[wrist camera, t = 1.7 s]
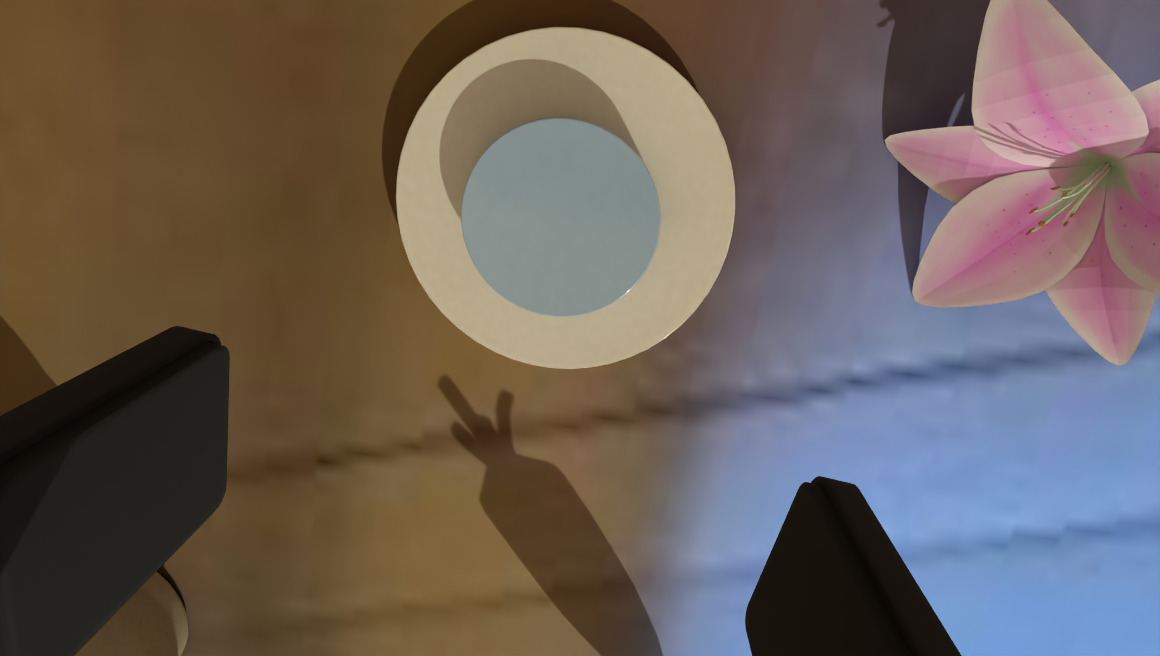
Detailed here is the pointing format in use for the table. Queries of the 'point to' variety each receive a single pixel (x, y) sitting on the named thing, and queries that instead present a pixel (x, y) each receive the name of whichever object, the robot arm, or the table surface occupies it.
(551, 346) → the dessert plate
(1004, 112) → the lily
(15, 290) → the table surface
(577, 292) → the blue-grey cylinder
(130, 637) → the planter bowl
